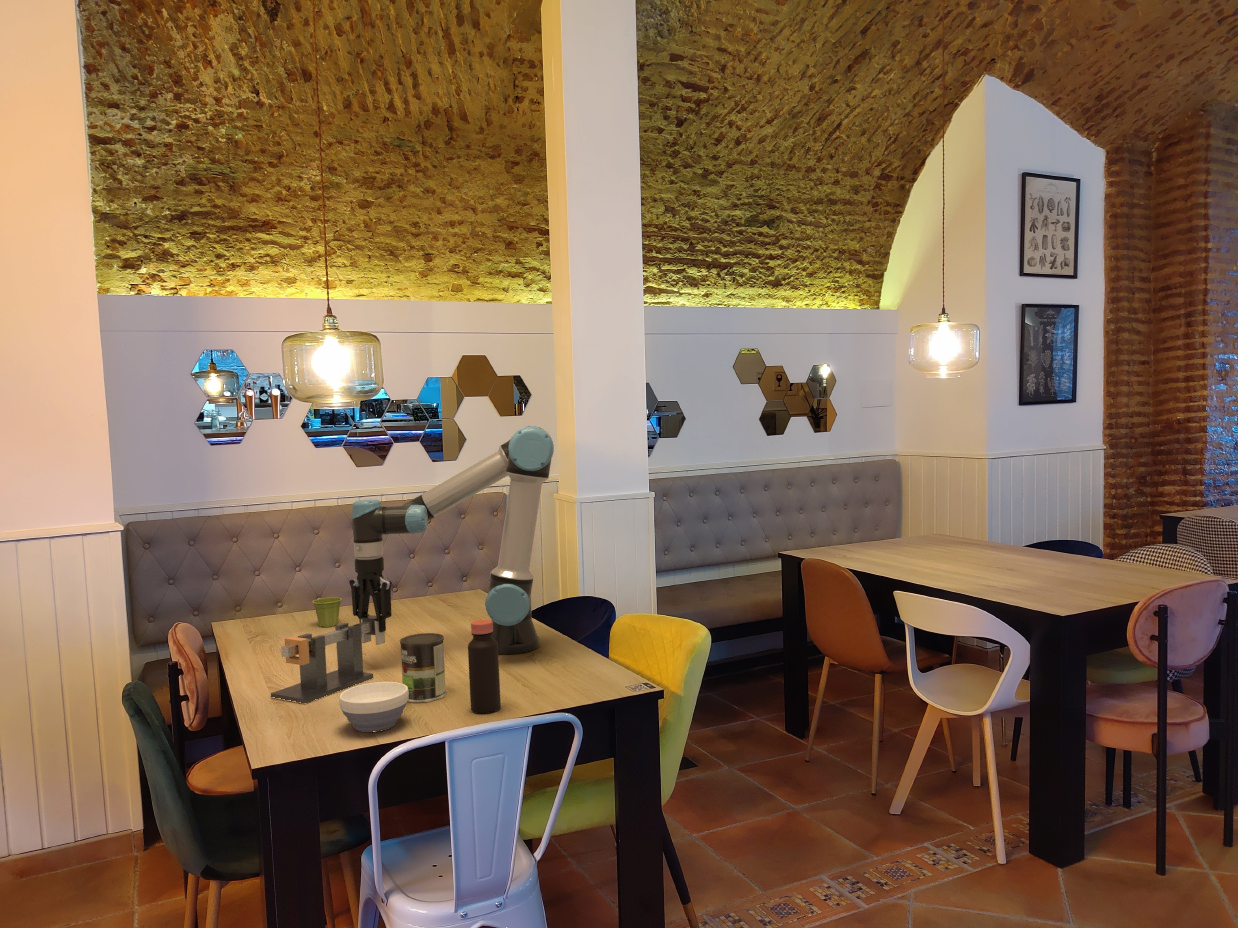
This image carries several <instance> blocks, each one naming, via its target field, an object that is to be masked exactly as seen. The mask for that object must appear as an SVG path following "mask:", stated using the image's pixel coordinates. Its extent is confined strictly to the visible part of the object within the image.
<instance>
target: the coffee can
mask: <svg viewBox="0 0 1238 928" xmlns="http://www.w3.org/2000/svg"><path fill="white" fill-rule="evenodd" d="M444 640H445V637H444V635H443V634H440V633H433V632H431V633H430V632H424V633H423V632H422V633H415V634H411V635H407V636H405V637H402V638H401V639H400V640H399V642H400V653H401V654H400V656H401V657H400V659H401V661H400V662H401V676H402V680H401V681H402V682H401V683H402V684H404V685H406V686H407V687H408V691H409V699H408V701H407V703H412V704H413V703H417V704H418V703H430V702H435V701H437V700H441V699H442V698H444V697H445V696H446V695H447V691H446V690H447V689H446V670H445V647H444Z"/></svg>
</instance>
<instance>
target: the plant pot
mask: <svg viewBox="0 0 1238 928" xmlns="http://www.w3.org/2000/svg"><path fill="white" fill-rule="evenodd" d="M342 601H343V600H342V598H341V597H336V596H334V597H322V598H317V599H314V600H312V604H313V607H314V608H315V613H316V618H317V623H318V626H319V628H332V627H335V625H338V624H339V617H340V608H341V607H340V606H341V603H342Z"/></svg>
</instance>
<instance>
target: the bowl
mask: <svg viewBox="0 0 1238 928" xmlns="http://www.w3.org/2000/svg"><path fill="white" fill-rule="evenodd" d="M408 699H409V691H408V687H407V686H406V685H404V684H403V682H395V681H377V682H375V681H374V682H369V683H363V684H358V685H354V686H352V687H349V688H346V689H344V690H343V692H341V693H340V695H339V701H338V702H339V709H340V710H341V713H342V714H343V715H344V716H345V717H346V719H347V721H348V722H349V724H351V725H353V728H354V729H355V731H357V730H358V731H357V732H360V731H362V732H361V733H365V732H373V731H380V732H382V731H381V730H384V731H386V730H385V729H387V730H389V729H392V728H393V727H395V726H396V725H397V723H398V721H399V720H398V719H399V718H401V716H402V714H403V712H404V710H405V708H406V707H407V704H408V702H407V701H408ZM388 728H389V729H388ZM373 733H374V732H373Z"/></svg>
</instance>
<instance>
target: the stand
mask: <svg viewBox="0 0 1238 928" xmlns="http://www.w3.org/2000/svg"><path fill="white" fill-rule="evenodd" d="M334 627H335V630H339V629H342V628H345V627H348V638H349V639H346V640H342V641H339V642H336V643H335V644H336V654H337V655H336V656H337V657H336V658H337V659H336V660H337V661H336V662H337V669H336V670H333V671H330V672H327V658H326V646H325V636H324V635H322V634H319V635H316V636H313V634H312V633H307V632H306V633H304V634H300V635H297V637H298V638H306V639H309V638H311V651H309V663H308V664H305V665H299V675H300V679H299V680H300V682H299V683H296V684H293V685H290V686H288V687H285V688H282V689H278V690H276V691H274V692H271V693H270V698H271V697H275V698H281V699H285V700H291V701H296V702H301V703H307V702H310V703H312V702H311V701H313V700H315V699H318V700H320V699H322V698H321V697H323V698H325V697H324V696H326V695H328V696H330V695H329V694H331V695H333V694H336V693H338V692H337V691H339V692H341V691H344V690H347V689H349V688H352V687H354V686H356V685H355V684H357V685H360V684H362V683H364V681H365V682H367V681H369V679H370V680H373V679H374V673H371V672H365V671H364V660H363V643H362V632H361V625H360V624H359V623H357V624H356V623H355V624H352V625H349V622H342V623H338V625H334ZM372 678H373V679H372ZM366 680H367V681H366ZM359 683H360V684H359ZM353 685H354V686H353ZM351 686H352V687H351ZM348 687H349V688H348ZM343 689H344V690H343ZM340 690H341V691H340ZM335 692H336V693H335ZM332 693H333V694H332ZM326 697H327V696H326ZM319 698H320V699H319ZM315 701H316V700H315ZM313 702H314V701H313ZM307 704H308V703H307Z"/></svg>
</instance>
